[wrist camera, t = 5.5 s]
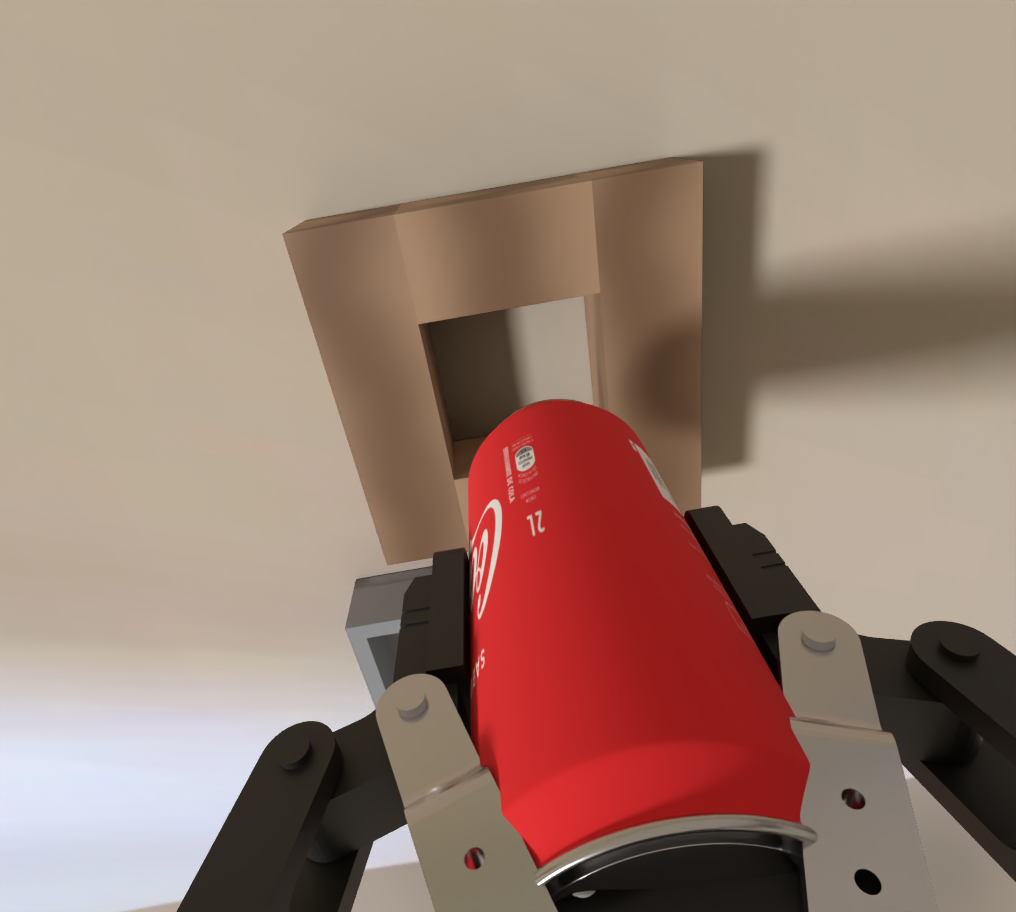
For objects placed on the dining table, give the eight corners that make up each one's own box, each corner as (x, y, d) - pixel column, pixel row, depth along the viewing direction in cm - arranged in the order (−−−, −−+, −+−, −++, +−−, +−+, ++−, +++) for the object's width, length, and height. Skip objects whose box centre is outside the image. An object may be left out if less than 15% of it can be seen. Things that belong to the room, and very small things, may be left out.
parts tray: (615, 535, 31) (632, 579, 28) (629, 709, 38) (644, 761, 34) (356, 579, 31) (345, 628, 28) (415, 746, 38) (411, 800, 34)
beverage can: (594, 553, 20) (742, 1037, 9) (444, 510, 19) (419, 1009, 8) (670, 418, 18) (978, 853, 7) (505, 360, 16) (579, 778, 6)
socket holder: (669, 157, 23) (703, 161, 20) (675, 472, 29) (700, 511, 26) (305, 220, 23) (282, 234, 20) (394, 520, 30) (387, 565, 26)
